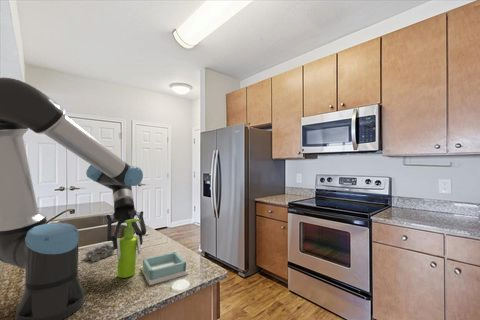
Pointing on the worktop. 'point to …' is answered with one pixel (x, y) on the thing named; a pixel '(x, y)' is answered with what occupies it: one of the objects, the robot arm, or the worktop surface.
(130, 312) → the worktop surface
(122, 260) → the soap dispenser
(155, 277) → the cradle
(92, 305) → the worktop surface
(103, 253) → the egg carton
